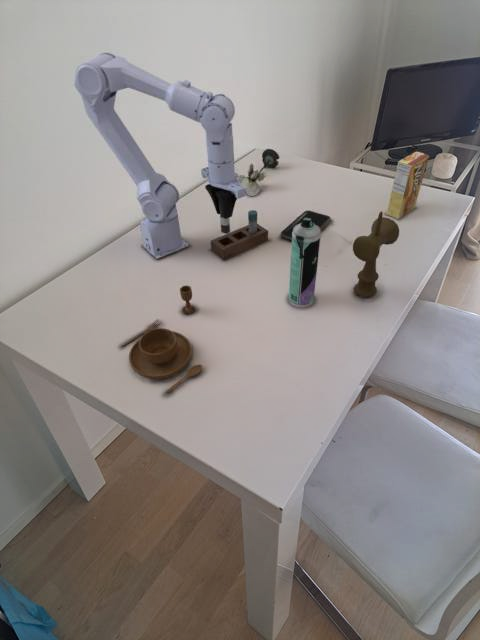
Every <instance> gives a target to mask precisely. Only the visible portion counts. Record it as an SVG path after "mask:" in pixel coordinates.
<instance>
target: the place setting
mask: <svg viewBox="0 0 480 640" xmlns="http://www.w3.org/2000/svg"><path fill="white" fill-rule="evenodd" d="M179 294H180V297H181V300H182V301H184V302H185V305H184V306H183V307H182V309H181V310H182V311H181V312H182V313H183V314H184V315H192V314H194V313H195V311H196V307H195V306H194V305H191V302H190V301H191V300H192V299H193V290H192V287H191V286H190V285H182V286H181V287H180V288H179ZM161 323H162V321H161V320H160V319H159V318H157V319H156V320H155V321H154V322H152V324H150V325H149V326H148V327H147V328H146V329H144V330H142V331H141V332H140V333H137V334H136V335H135V336H133V337H132V338H130V339H129V340H127V341H126V342H124V343H123V344H121V345H120V347H125V346H126V345H128V344H130V343H131V342H133V341H134V340H136V339H137V340H136V342H135V343H133V345H132V346H131V348H130V350H129V354H128V361H129V364H130V366H131V368H132V370H133V371H134V372H135V373H136V374H137V375H140V377H144V378H146V379H150V380H151V379H152V380H161V379H167V378H170V377H173V376H175V375H176V374H179V373H180V372H181V371H182V370H184V369H185V368H186V366H187V365H188V364H189V362H190V360H191V357H192V352H193V351H192V345H191V342H190V340H189V339H188V338H187V337H186V336H185V335H184V334H182V333H180V332H177V331H173V330H170V329H169V328H165V327H159V328H157V327H158V326H159V325H160V324H161ZM140 336H141V337H140ZM139 337H140V338H139ZM138 338H139V339H138ZM202 368H203V365H202V364H199V363H198V364H195V365H193V366H191V367H190V368H189V370H188V371H187V373H186V374H185V375H184V377H182V378H181V379H180V380H178V381H177V382H176V383H174V384H173V385H172V386H171V387H169V388H168V389H167V390H166V391H165V395H166V394H169V393H170V392H172V391H173V390H174V389H176V388H177V387H178V386H180V384H182V383H183V382H184V381H185V380H186V379H187V378H191V377H194V376H196V375H198V374H199V373H200V372H201V370H202Z"/></svg>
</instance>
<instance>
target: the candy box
mask: <svg viewBox="0 0 480 640" xmlns="http://www.w3.org/2000/svg"><path fill="white" fill-rule="evenodd" d="M429 158H430V155H429V154H427V153H424V152H420V151H414V152H413V153H411V154H409V155H407V156H405V157H404V158H401V159H400V160H398V162H397V166H396V171H395V174H394V179H393V184H392V188H391V193H390V197H389V202H388V206H387V210H386V215H387V216H390V217H393V218H395V219H397V220H399V219H400V218H402V217H403V216H405V215H407V214H408V213H409V212H411V211H412V210H414V209H416V205H417V201H418V198H419V194H420V191H421V187H422V183H423V180H424V176H425V173H426V169H427V166H428V162H429Z"/></svg>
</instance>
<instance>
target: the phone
mask: <svg viewBox="0 0 480 640" xmlns="http://www.w3.org/2000/svg"><path fill="white" fill-rule="evenodd" d="M306 217H311V218H312V222H313V223H314V224H315V225H317V226H318V227H319V228H320V230H321V231H322V230H323V229H325V227H326V226H327V225H329V223H331V216H329V215H327V214H323V213H319V212H316V211H312V210H305V211H303V212H302V213H301V214H300V215H299V216H298V217H297V218H295V219H294V220H293V221H292V222H291V223H290V224H289V225H288V226H286V227H285V228H284V229H283V230H282V231H281V232H280V239H283V240H285V241H289V242H292V232H293V228H294V227H295V226H296V225H298V224H300V223H301V222H302V221H303V219H304V218H306Z"/></svg>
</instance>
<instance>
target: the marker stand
mask: <svg viewBox="0 0 480 640" xmlns="http://www.w3.org/2000/svg"><path fill="white" fill-rule="evenodd" d="M265 242H269V230H268V229H266V228H265V227H264V226H262V225H260V224H258V223H257V232H256V233H254V234H251V233H249V224H247V225H245V226H242V227H239V228H237V229H235V230H233V231H230V232H229V233H224V234H223V235H221V236H219V237H216V238H213V239H211V240H210V250H211V252H213V253H214V254H215V255H216V256H217V257H219V258H220V259H222V260H223V261H226V260H229V259H230V258H232V257H234V256H237V255H239V254H241V253H244V252H247V251H248V250H251V249H252V248H255V247H257V246H259V245H261V244H264V243H265Z"/></svg>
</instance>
